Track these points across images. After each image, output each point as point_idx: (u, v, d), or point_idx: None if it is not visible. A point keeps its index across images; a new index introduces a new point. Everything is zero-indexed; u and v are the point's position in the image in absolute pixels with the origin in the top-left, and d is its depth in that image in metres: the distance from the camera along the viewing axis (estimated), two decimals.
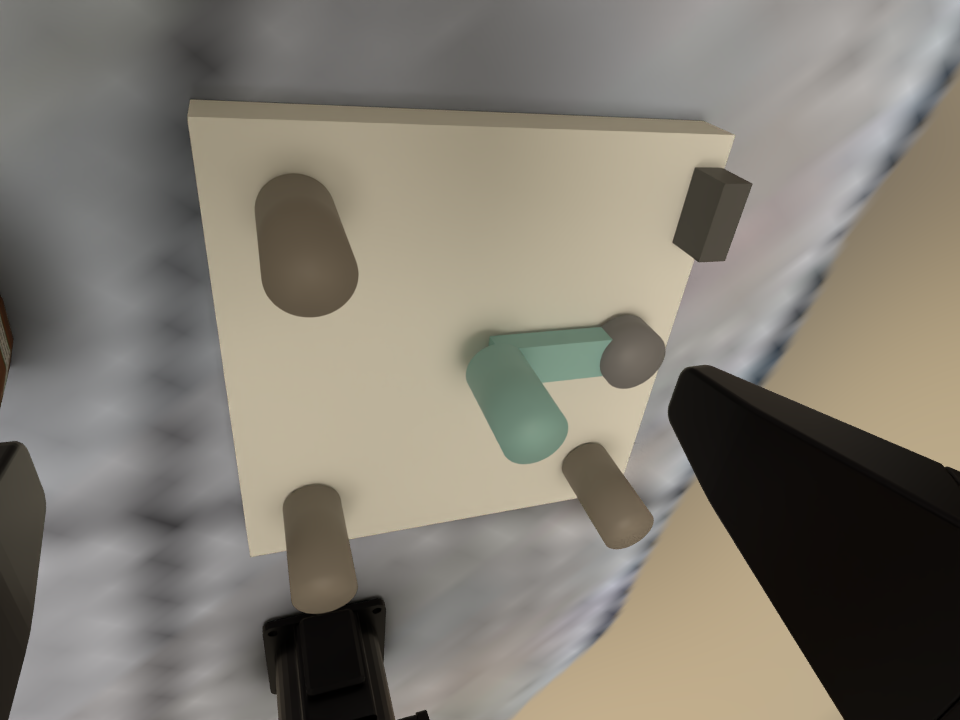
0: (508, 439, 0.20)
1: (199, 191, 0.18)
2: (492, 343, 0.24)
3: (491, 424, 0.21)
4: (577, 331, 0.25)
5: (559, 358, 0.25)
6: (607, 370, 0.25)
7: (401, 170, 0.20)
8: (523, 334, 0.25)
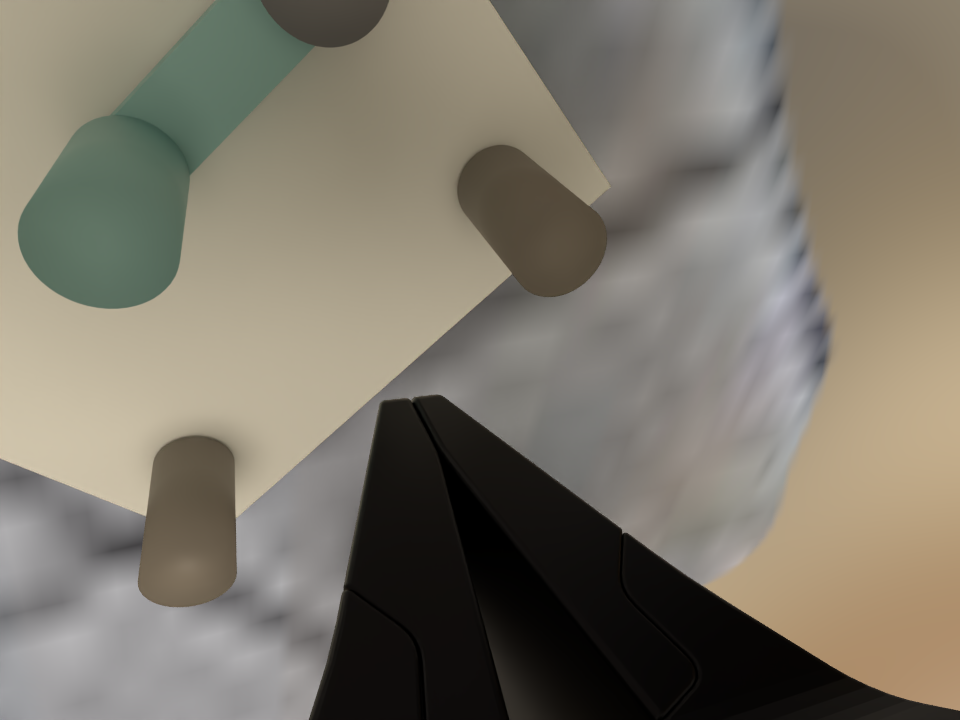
0: (61, 283, 0.11)
1: None
2: None
3: None
4: (210, 7, 0.13)
5: (204, 76, 0.13)
6: (295, 28, 0.13)
7: None
8: (138, 85, 0.14)
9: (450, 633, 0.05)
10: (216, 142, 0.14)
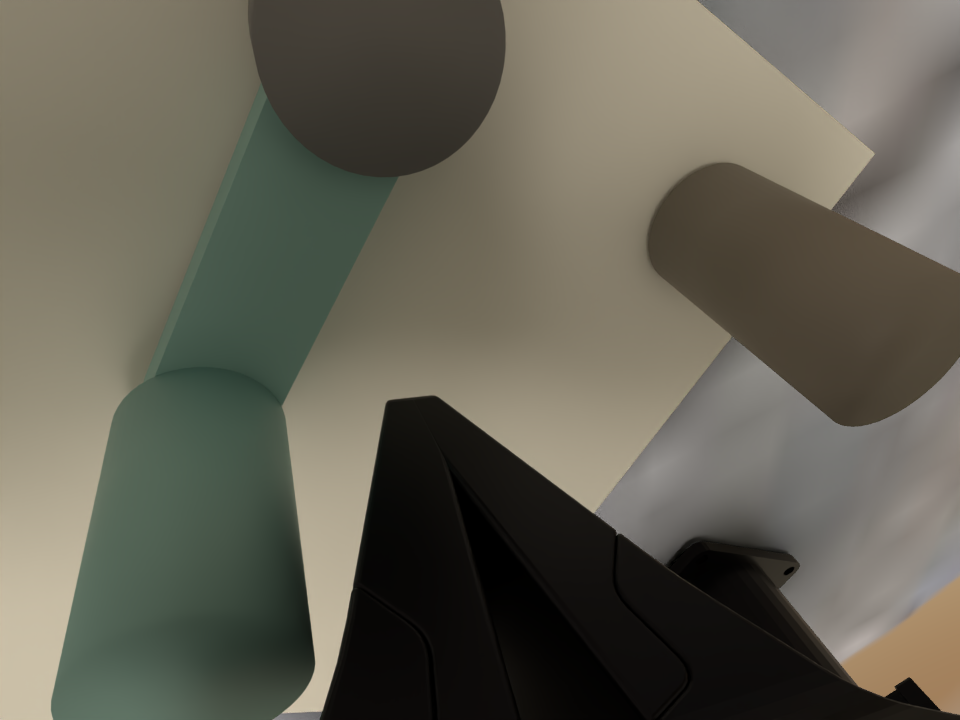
0: None
1: None
2: None
3: None
4: (230, 166, 0.08)
5: (257, 277, 0.08)
6: (368, 161, 0.08)
7: None
8: (173, 308, 0.09)
9: (460, 631, 0.05)
10: (303, 353, 0.09)
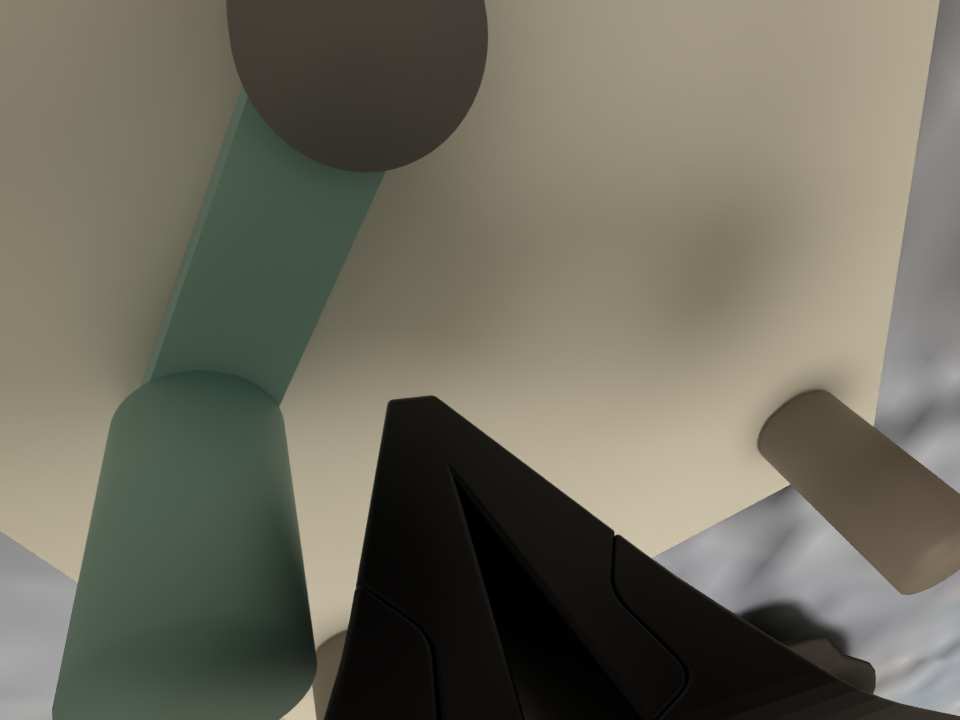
0: None
1: None
2: None
3: None
4: (216, 165, 0.08)
5: (246, 278, 0.08)
6: (353, 157, 0.07)
7: None
8: (166, 312, 0.09)
9: (463, 630, 0.05)
10: (297, 353, 0.09)
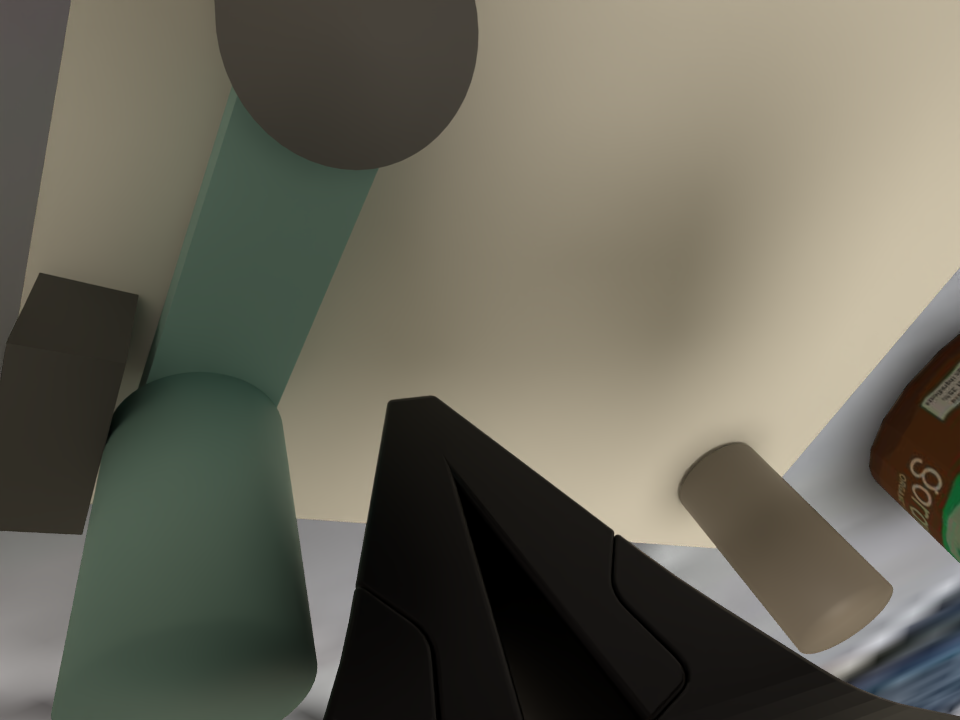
0: None
1: None
2: None
3: None
4: (208, 166, 0.08)
5: (240, 279, 0.08)
6: (345, 154, 0.07)
7: (603, 498, 0.16)
8: (161, 314, 0.09)
9: (463, 630, 0.05)
10: (294, 353, 0.09)
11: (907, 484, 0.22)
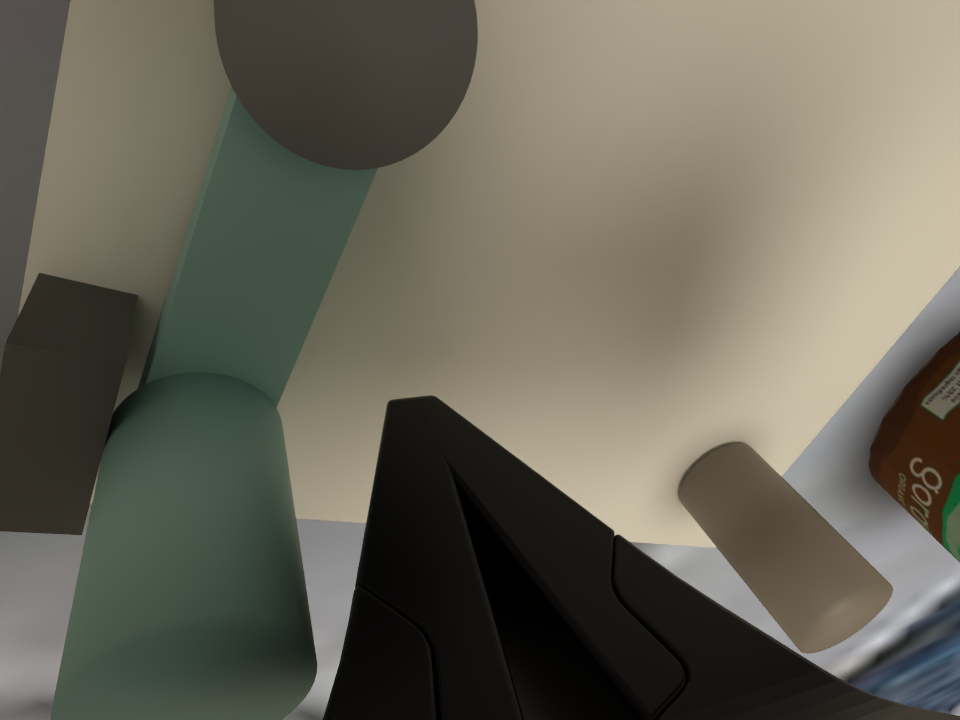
0: None
1: None
2: None
3: None
4: (207, 166, 0.08)
5: (240, 279, 0.08)
6: (344, 154, 0.07)
7: (603, 498, 0.16)
8: (161, 314, 0.09)
9: (462, 630, 0.05)
10: (293, 353, 0.09)
11: (907, 483, 0.22)
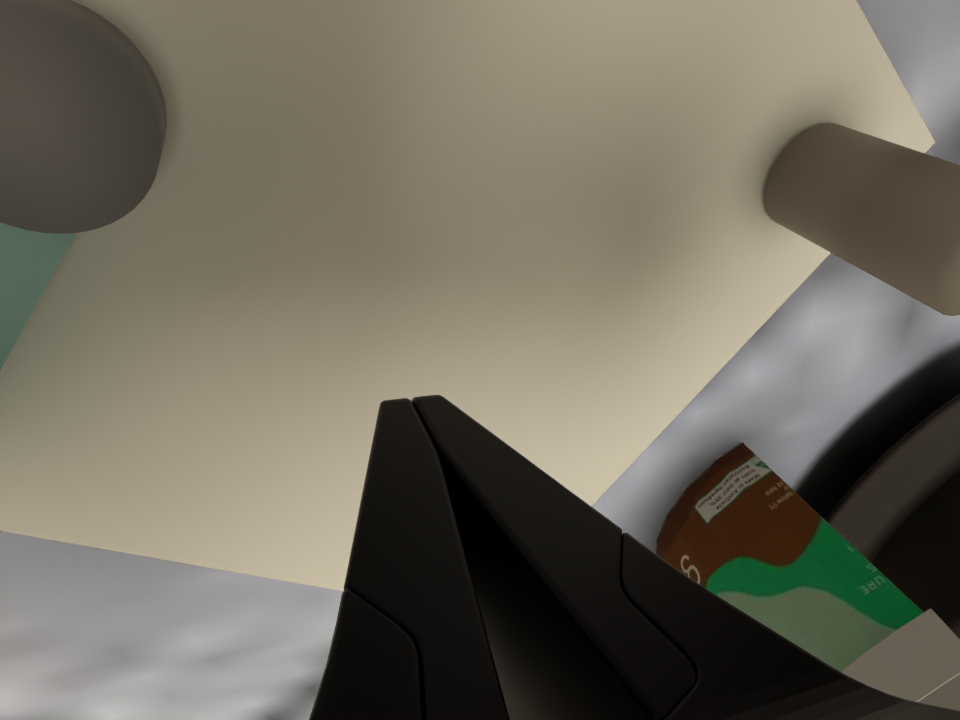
0: None
1: None
2: None
3: None
4: None
5: None
6: (29, 218, 0.08)
7: None
8: None
9: (450, 633, 0.05)
10: None
11: None
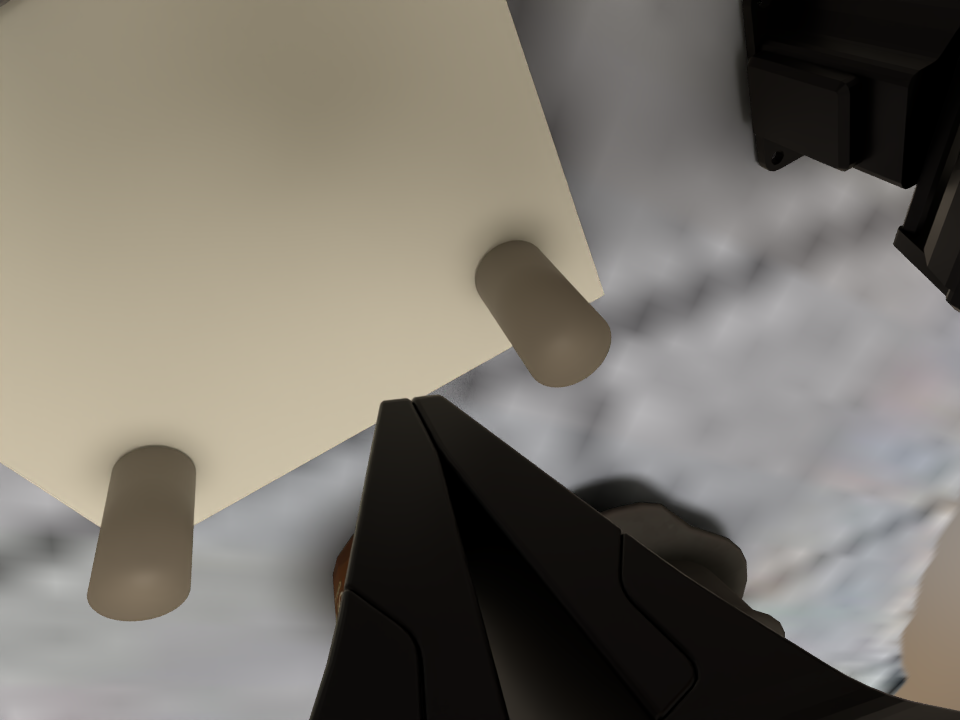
0: None
1: (193, 524, 0.22)
2: None
3: None
4: None
5: None
6: None
7: (34, 431, 0.18)
8: None
9: (450, 633, 0.05)
10: None
11: (339, 591, 0.27)
